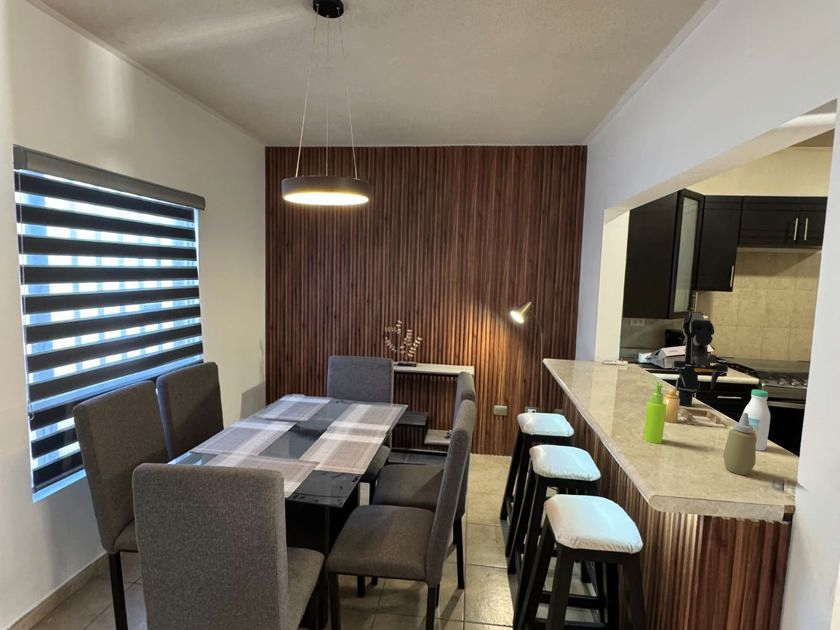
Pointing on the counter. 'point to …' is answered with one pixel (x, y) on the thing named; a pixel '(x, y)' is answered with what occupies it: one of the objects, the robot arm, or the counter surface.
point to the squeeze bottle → (740, 447)
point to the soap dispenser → (655, 417)
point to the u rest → (700, 417)
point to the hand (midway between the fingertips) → (698, 388)
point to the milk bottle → (759, 417)
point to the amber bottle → (671, 406)
